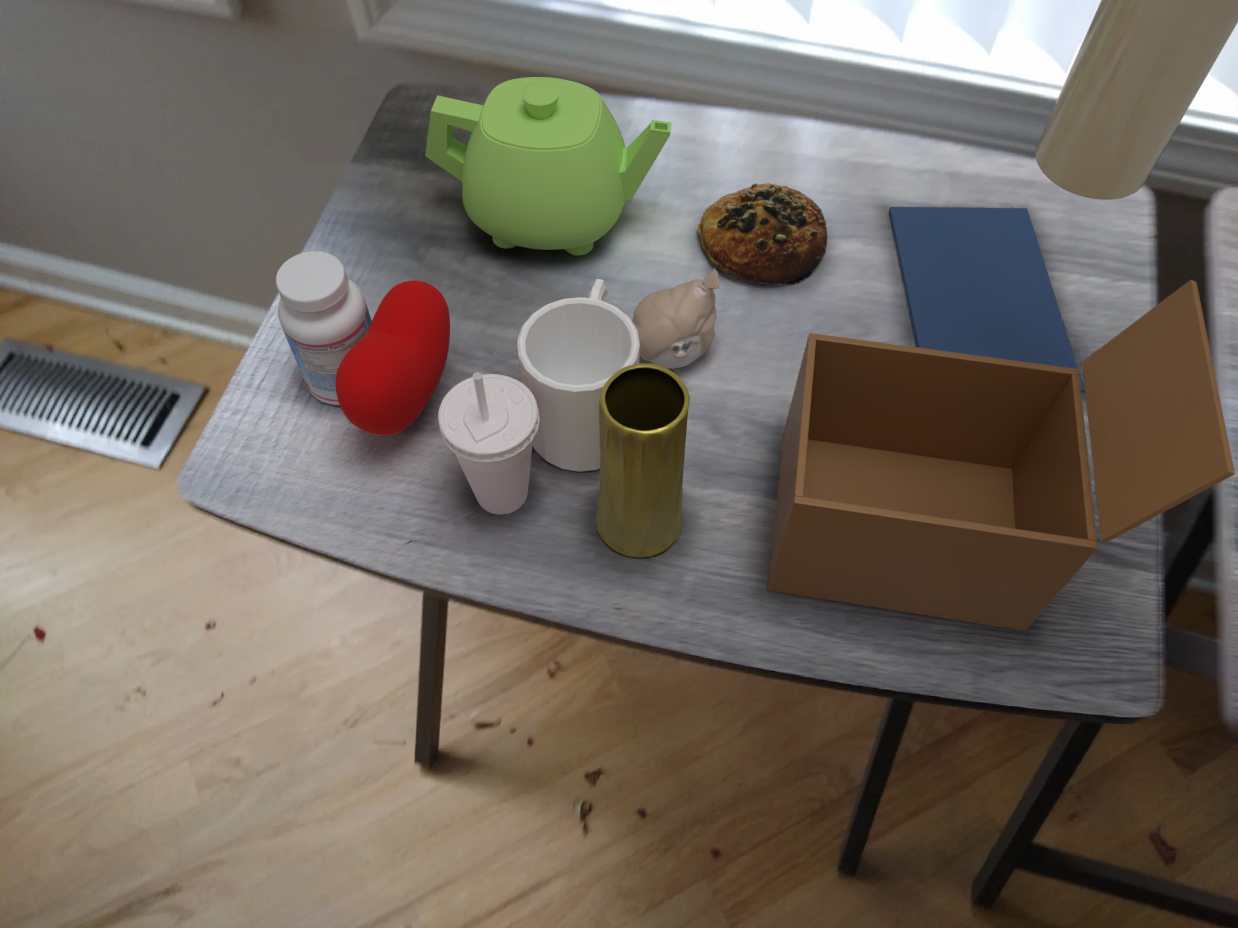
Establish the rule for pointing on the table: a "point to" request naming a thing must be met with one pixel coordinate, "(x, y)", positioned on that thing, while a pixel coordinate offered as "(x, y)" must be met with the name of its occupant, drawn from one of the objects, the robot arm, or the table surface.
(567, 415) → the mug
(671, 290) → the garlic bulb
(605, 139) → the teapot
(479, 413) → the smoothie
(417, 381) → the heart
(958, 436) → the carton
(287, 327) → the pill bottle
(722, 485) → the table surface
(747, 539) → the table surface
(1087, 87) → the beige cylinder rod
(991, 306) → the mat
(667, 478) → the vase
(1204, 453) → the flap
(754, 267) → the bread roll
